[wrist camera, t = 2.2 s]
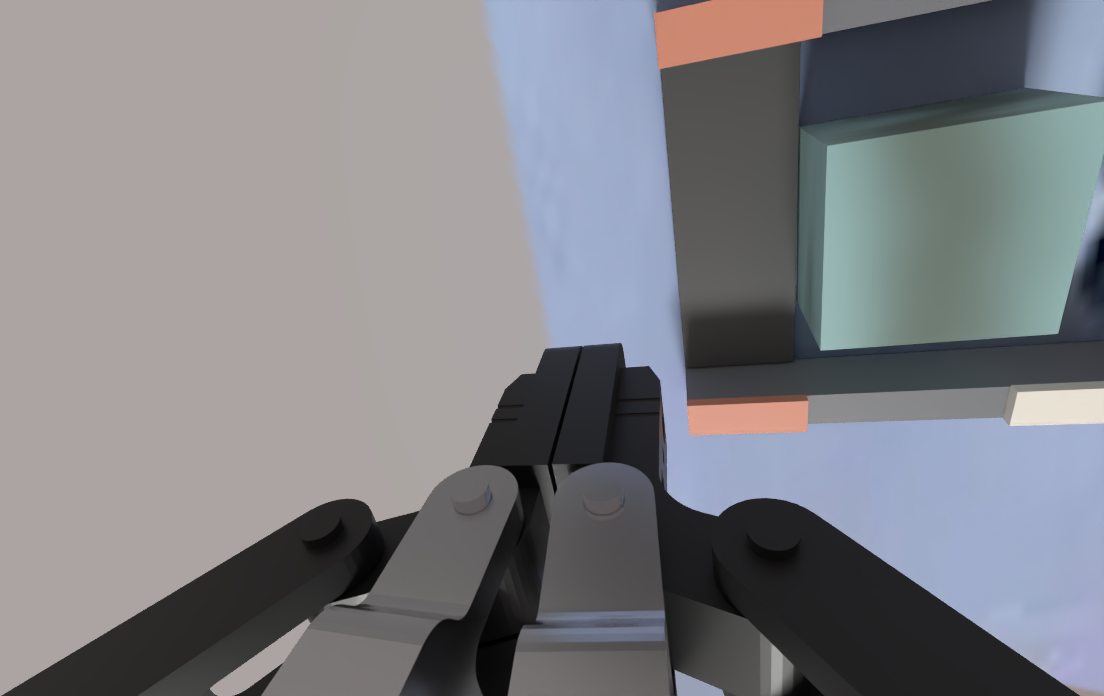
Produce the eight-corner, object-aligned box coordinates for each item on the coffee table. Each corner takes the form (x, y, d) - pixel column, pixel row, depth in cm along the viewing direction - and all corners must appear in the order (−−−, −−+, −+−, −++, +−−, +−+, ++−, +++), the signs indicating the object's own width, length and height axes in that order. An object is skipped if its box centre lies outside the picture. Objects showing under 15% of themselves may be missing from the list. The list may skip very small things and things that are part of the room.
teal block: (1020, 86, 16) (1117, 99, 12) (986, 279, 18) (1057, 333, 15) (796, 125, 17) (827, 145, 14) (795, 298, 20) (820, 350, 16)
